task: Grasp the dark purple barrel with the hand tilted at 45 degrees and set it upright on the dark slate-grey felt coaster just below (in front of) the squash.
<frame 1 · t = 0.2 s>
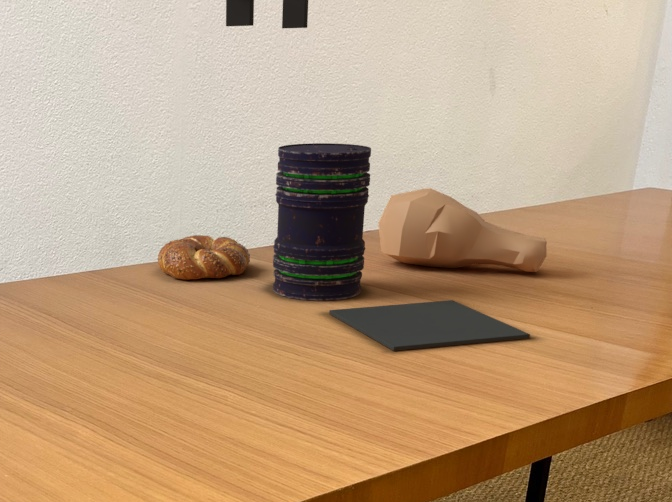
hand: (268, 27, 111), 26 cm above the table, tool pointing down, fingers open, 13 cm apart
coaster: (425, 325, 102), on the table
dark purple barrel: (316, 291, 116), on the table
squash: (457, 268, 127), on the table
braided bread ring: (203, 273, 125), on the table
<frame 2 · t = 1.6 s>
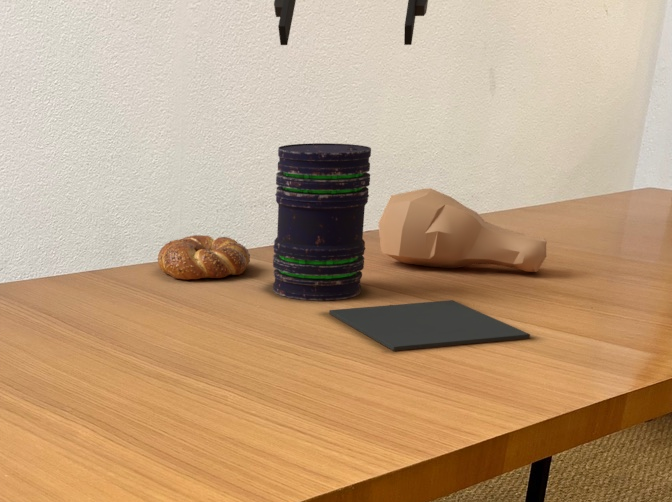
hand: (344, 35, 115), 26 cm above the table, tool tilted 45°, fingers open, 13 cm apart
nothing on the table moved.
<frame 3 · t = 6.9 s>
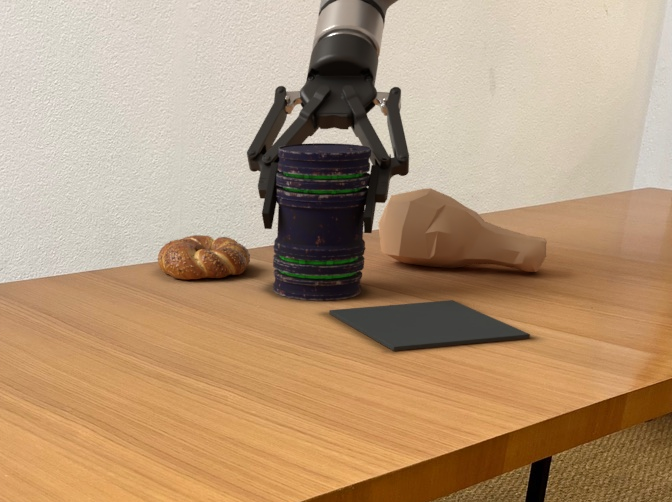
hand: (316, 223, 110), 8 cm above the table, tool tilted 45°, fingers closed on dark purple barrel, 10 cm apart
dark purple barrel: (316, 291, 116), on the table, touching gripper
everything else where it was.
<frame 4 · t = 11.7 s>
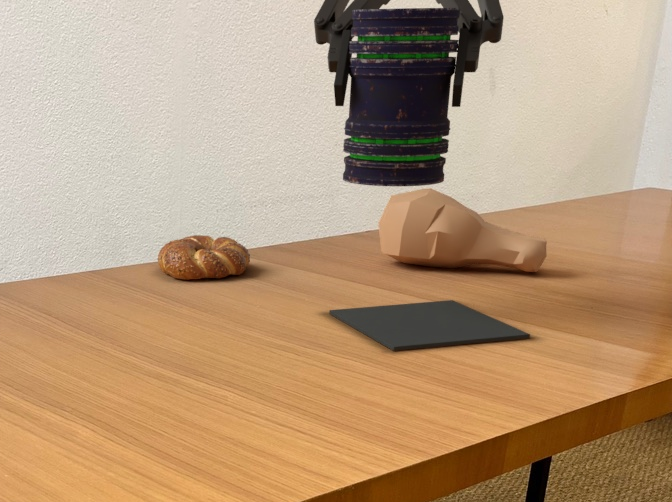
hand: (396, 96, 96), 21 cm above the table, tool tilted 45°, fingers closed on dark purple barrel, 10 cm apart
dark purple barrel: (392, 181, 102), point 13 cm above the table, touching gripper
everything else where it was.
when the fingers open (8 cm above the table, at t = 16.6 s): dark purple barrel stays where it is, resting on coaster.
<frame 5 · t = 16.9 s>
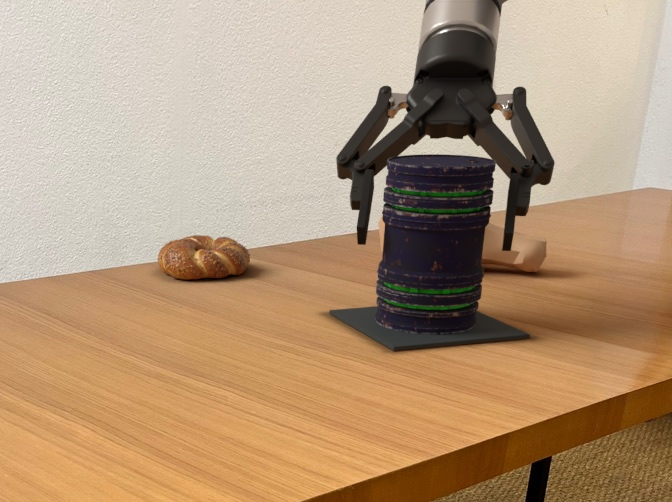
hand: (433, 239, 96), 9 cm above the table, tool tilted 45°, fingers open, 12 cm apart
dark purple barrel: (425, 323, 102), resting on coaster
everything else where it was.
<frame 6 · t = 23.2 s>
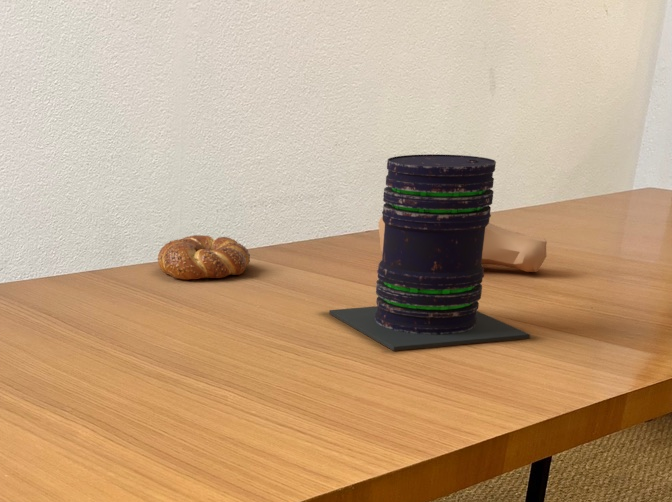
nothing on the table moved.
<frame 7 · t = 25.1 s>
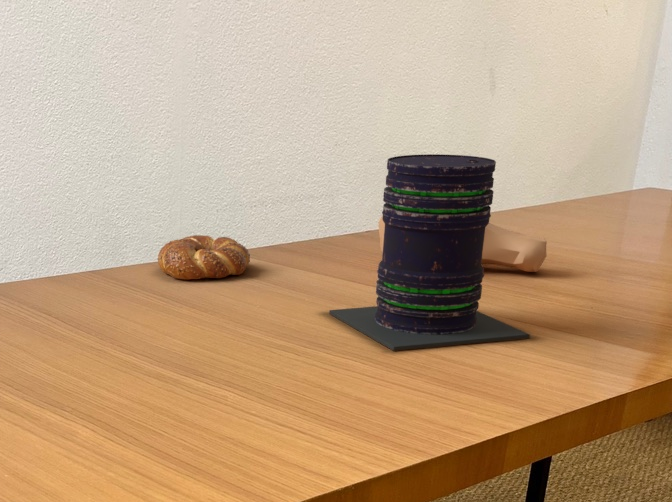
nothing on the table moved.
at the end: dark purple barrel inside the target area on the table beside the squash (0.1 cm from its centre), resting on coaster; dark purple barrel 0.1 cm from the coaster (horizontally); dark purple barrel tilted 0° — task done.
